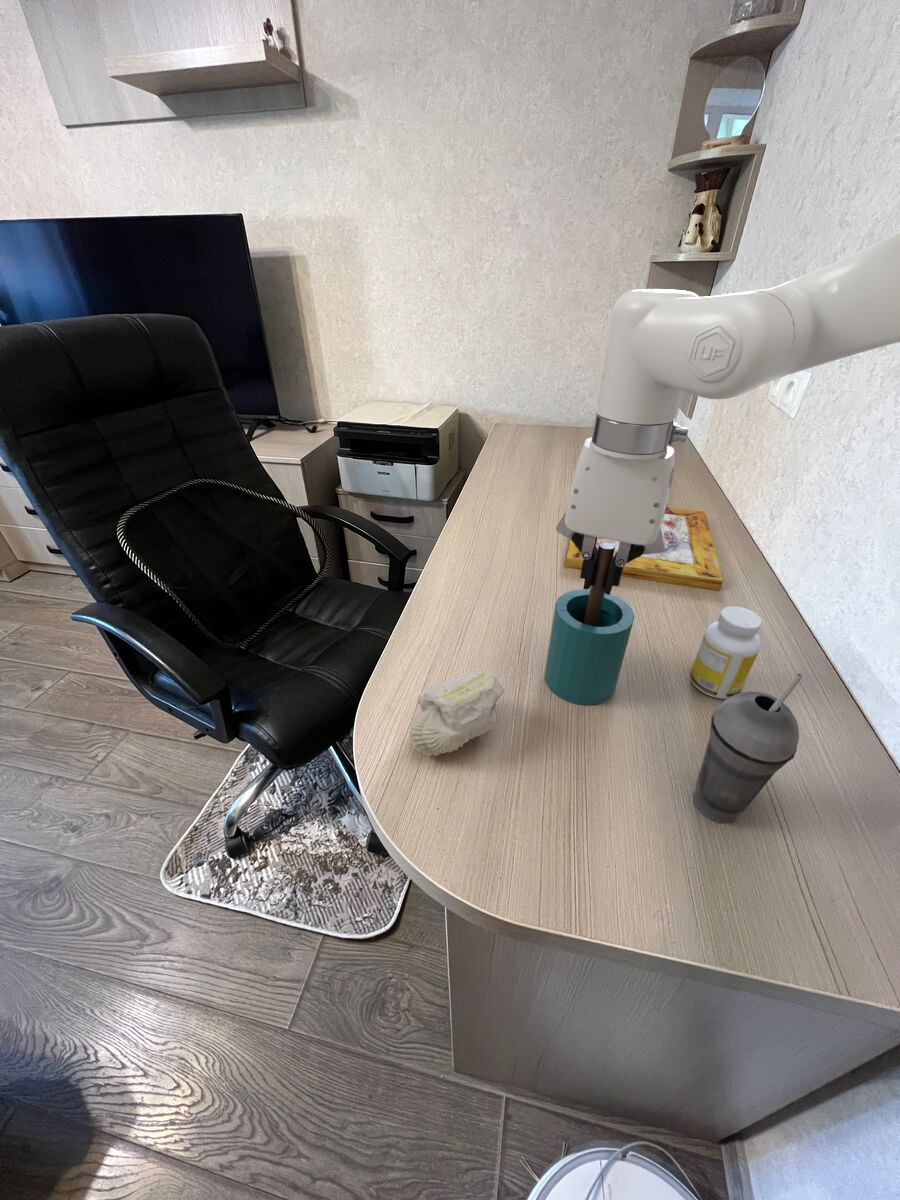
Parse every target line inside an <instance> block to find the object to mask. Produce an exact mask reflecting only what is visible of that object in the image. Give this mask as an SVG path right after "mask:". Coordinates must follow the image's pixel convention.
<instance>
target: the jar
mask: <svg viewBox="0 0 900 1200" xmlns="http://www.w3.org/2000/svg"><path fill="white" fill-rule="evenodd" d="M589 592H590V589H588V590H586V589H583V588H582V589H580V588H579V589H574V590H571V591H567V592H565V593H563V594H562V595H560V596H559V597H558V598H557V600H556V602H555V605H554V611H553V616H552V617H553V618H552V623H551V630H550V637H549V642H548V651H547V657H546V662H545V672H544V679H545V683H546V684H547V686H548V688H549V689H550V690H551V691H552V693H553V694H555V695H556V696H557V697H559V698H560V699H562V700H564V701H567V702H569V703H571V704H575V705H580V706H593V705H599V704H602V703H605V702H606V701H608V700H609V699H611V698H612V696H613V695H614V693H615V691H616V688H617V684H618V680H619V676H620V673H621V669H622V665H623V662H624V658H625V655H626V651H627V646H628V643H629V640H630V635H631V631H632V628H633V625H634V620H635V614H634V611H633V609H632V607H631V606H630V605H629V604H628V603H627V602H626V601H625V600H623V599H622V598H620V597H618V596H616V595H614V594H611V593H610V595H607V594H605V595H604V599H603V604H602V608H601V613H600V617H599V622H598V626H599V627H593V626H590V625H586V624H583V622H584V617H585V612H586V607H587V602H588V597H589Z"/></svg>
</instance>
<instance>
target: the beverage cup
mask: <svg viewBox="0 0 900 1200" xmlns="http://www.w3.org/2000/svg"><path fill="white" fill-rule="evenodd" d="M803 677H804V675H803V674H802V673H801V672H797V673H796V674H795V676H793V678H792V679H791V681H790V682H789V683H788V685H786V687H785V688H784V690H783V691H782V692H781V694H780V695H779V696H778V697H776V696H773V695H771V694H769V693H765V692H761V691H752V690H751V691H749V690H748V691H744V692H740V693H738V694H735V695H733V696H732V697H730V698H728V699H724V701H722V702H721V704H720V705H719V707H718V708H716V710H715V711H714V712H713V713H712V716H711V719H710V720H711V721H710V728H709V739H708V742H707V745H706V749H705V752H704V756H703V759H702V761H701V765H700V769H699V771H698V775H697V779H696V782H695V784H694V785H695V788H694V792H693V794H692V795H693V796H692V797H693V798H692V801H693V804H694V806H695V808H696V809H697V810H698V812H699V813H700V814H701V815H702V816H703V817H705V818H707V819H708V820H709V821H711V822H714V823H717V824H723V825H727V824H732V823H734V822H735V821H736V820H737V819H738V817H740V816H741V815H742V814H743V813H744V812H745V811H746V810H747V808H748V807H750V804H751V803H752V802H753V801H754V800H755V799H756V797H757V796H758V795H759V794H760V792H761V791H762V789H764V787H765V786H766V785H767V783H768V782H769V781H770V780H771V778H772V777H773V776H774V775H775V774H776V773H777V772H778V771H779V770H780V769H782V768H783V767H784V766H785V765H786V764H787V763H789V762H790V761H791V760H793V759H794V758H795V756H796V753H797V751H798V745H799V741H800V730H799V725H798V721H797V718H796V717H795V715H794V713H793V712H792V710H791V708H789V707H788V706H787V705H786V704H785V703H784V702H785V701H786V700H787V698H788V697H789V696H790V695H791V693H792V692H793V691H794V689H795V688H796V687H797V685H798V684H799V683H800V681H801V680H802V679H803Z"/></svg>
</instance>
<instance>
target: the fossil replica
mask: <svg viewBox="0 0 900 1200" xmlns="http://www.w3.org/2000/svg"><path fill="white" fill-rule="evenodd" d="M504 693H505V688H504V686H503V685H502V684H501V682H500V681H499V680H498V678H497V677H496V676H495V675H494V674H493V673H489V672H481V671H473V672H469V673H467V674H464V675H461V676H458V677H455V678H453V679H450V680H448V681H445V682H441V683H438V684H436V685H434V686H431V687H429V688H427V689H425V691H423V692H422V693H419V694H418V696H417V697H418V698H417V703H418V705H419V706H420V710H421V712H420V713H418V715H417V716H416V718H414V719H413V721H412V722H411V724H410V729H409V739H410V745H411V746H412V747H413V749H414V750H416V751H418V752H419V754H421V755H424V754H425V755H426V756H428V757H430V756H435V757H438V756H439V755H441V754H444V755H445V754H446V753H452V752H453V751H458V749H459V747H460V748H463V746H464V744H466V743H469V741H470V740H472V739H475V738H476V737H480V736H482V735H484V734H486V733H487V732H490V731H491V730H493V729H494V727H495V726H496V724H497V722H496V721H497V711H496V706H497V701H498V700H499V699H500V697H502V696H503V695H504Z"/></svg>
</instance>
